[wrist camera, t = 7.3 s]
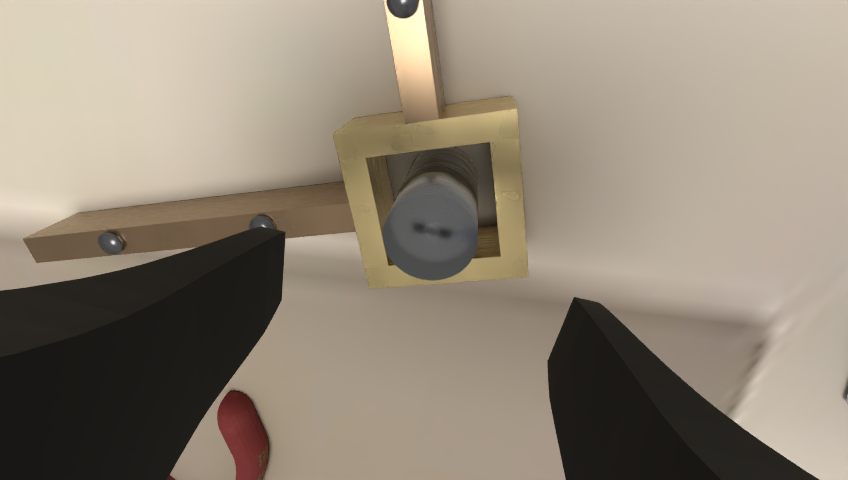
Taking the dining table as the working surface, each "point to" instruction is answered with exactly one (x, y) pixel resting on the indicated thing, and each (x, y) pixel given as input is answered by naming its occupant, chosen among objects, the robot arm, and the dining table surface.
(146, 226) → the hinge
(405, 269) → the hinge pin
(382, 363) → the dining table surface
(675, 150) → the dining table surface
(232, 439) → the pliers
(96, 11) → the dining table surface
